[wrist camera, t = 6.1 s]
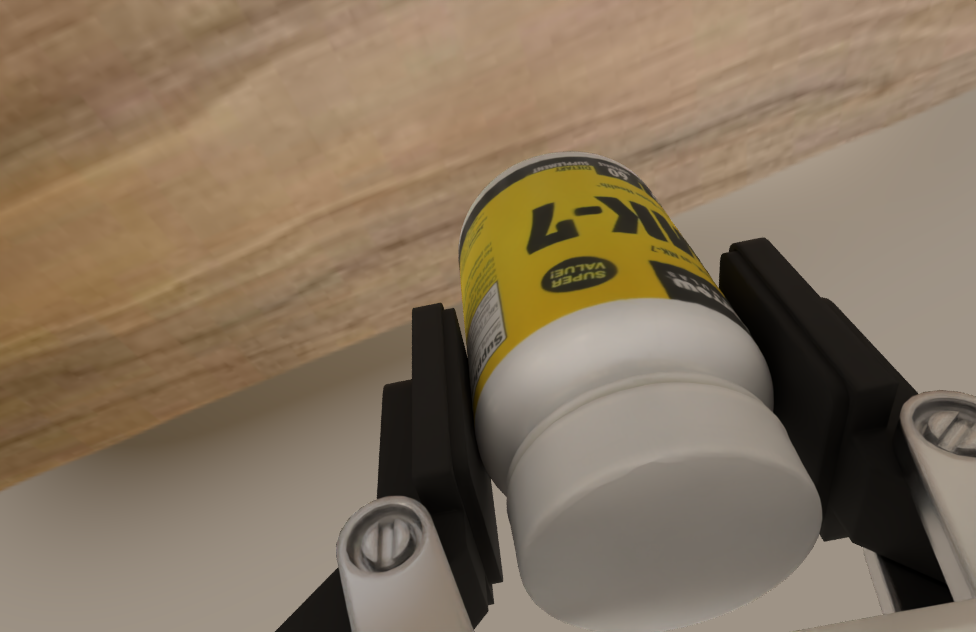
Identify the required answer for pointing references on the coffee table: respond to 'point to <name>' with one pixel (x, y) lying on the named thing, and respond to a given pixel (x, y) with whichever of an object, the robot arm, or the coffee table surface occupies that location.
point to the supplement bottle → (622, 406)
